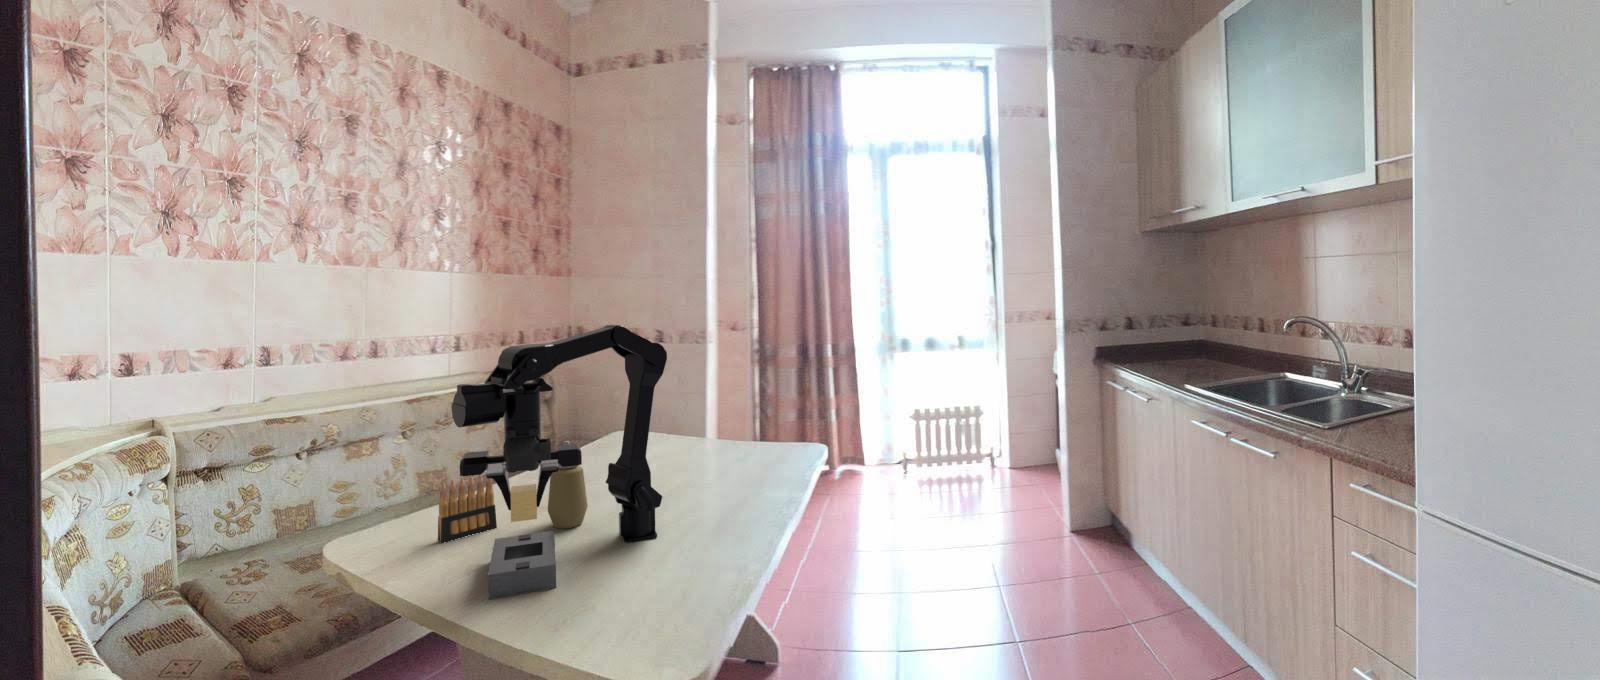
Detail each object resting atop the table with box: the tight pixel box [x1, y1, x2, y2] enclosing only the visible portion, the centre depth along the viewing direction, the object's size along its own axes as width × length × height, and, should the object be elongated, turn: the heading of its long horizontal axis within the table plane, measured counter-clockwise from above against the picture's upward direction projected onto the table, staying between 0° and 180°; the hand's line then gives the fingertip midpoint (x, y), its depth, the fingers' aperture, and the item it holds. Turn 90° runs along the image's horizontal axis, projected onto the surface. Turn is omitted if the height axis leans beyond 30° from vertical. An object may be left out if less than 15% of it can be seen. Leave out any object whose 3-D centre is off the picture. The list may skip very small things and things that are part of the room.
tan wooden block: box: [510, 483, 538, 523], centre depth 103 cm, size 4×4×5 cm
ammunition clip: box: [437, 474, 498, 544], centre depth 121 cm, size 11×2×12 cm, turn 141°
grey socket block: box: [487, 530, 557, 601], centre depth 104 cm, size 10×16×4 cm, turn 24°
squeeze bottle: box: [547, 440, 589, 529], centre depth 126 cm, size 8×8×18 cm
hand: (524, 508), depth 103 cm, fingers closed on tan wooden block, 4 cm apart
